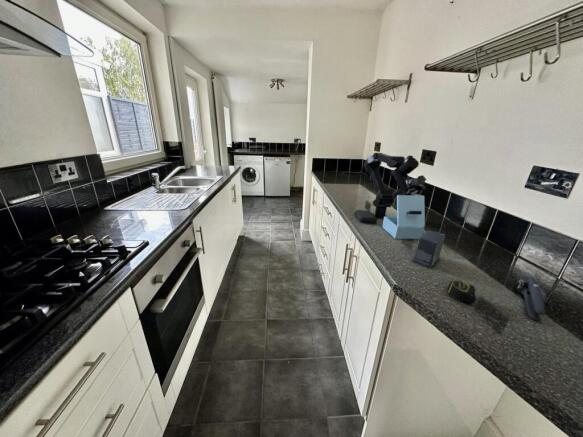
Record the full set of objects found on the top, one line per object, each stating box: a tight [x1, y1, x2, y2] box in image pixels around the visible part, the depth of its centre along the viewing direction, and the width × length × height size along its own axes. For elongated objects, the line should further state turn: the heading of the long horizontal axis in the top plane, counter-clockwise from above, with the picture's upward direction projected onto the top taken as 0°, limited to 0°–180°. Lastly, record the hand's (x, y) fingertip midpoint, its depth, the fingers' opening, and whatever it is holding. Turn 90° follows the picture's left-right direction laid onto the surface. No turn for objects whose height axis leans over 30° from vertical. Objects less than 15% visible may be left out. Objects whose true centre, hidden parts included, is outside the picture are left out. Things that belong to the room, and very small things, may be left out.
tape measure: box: [447, 280, 477, 305], centre depth 70 cm, size 7×7×4 cm
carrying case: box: [353, 209, 378, 224], centre depth 128 cm, size 11×3×15 cm
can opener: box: [515, 276, 548, 322], centre depth 67 cm, size 18×7×6 cm, turn 140°
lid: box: [396, 195, 426, 228], centre depth 103 cm, size 14×13×4 cm
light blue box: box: [382, 216, 425, 240], centre depth 112 cm, size 14×13×6 cm
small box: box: [413, 229, 446, 269], centre depth 88 cm, size 11×6×10 cm, turn 135°
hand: (417, 206), depth 109 cm, fingers closed on bottle, 5 cm apart
